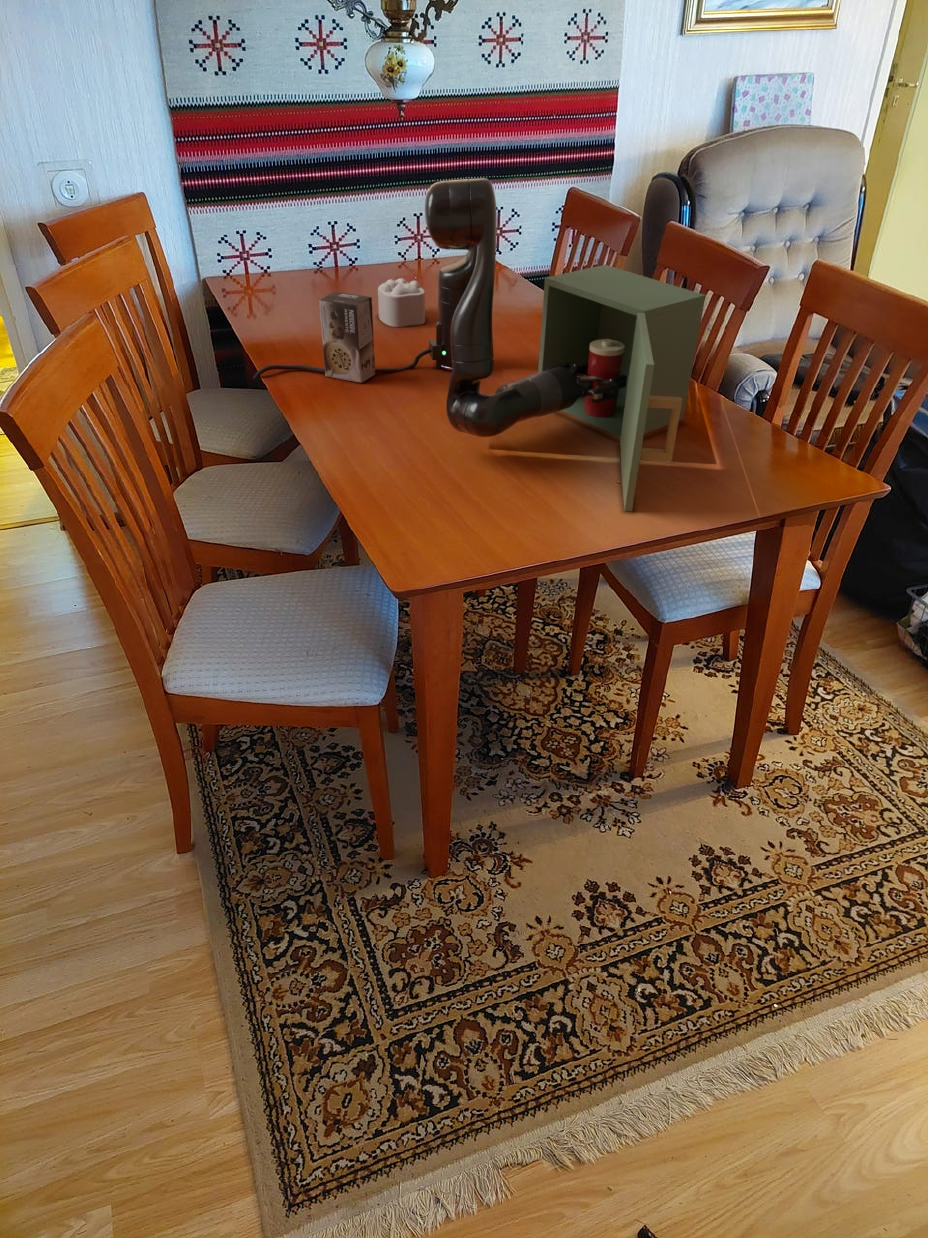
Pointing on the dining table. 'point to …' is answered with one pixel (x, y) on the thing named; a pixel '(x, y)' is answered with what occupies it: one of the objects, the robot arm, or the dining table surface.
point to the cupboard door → (642, 414)
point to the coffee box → (347, 336)
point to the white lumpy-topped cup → (401, 303)
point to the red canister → (603, 373)
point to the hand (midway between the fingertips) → (608, 373)
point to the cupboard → (622, 332)
